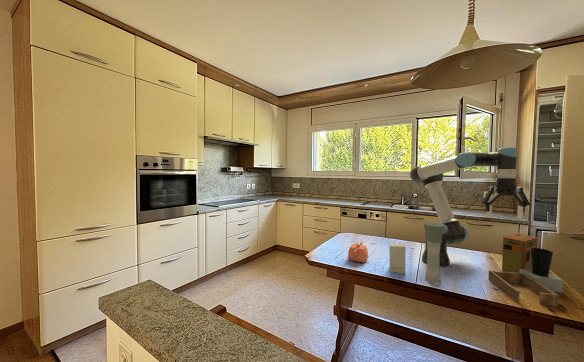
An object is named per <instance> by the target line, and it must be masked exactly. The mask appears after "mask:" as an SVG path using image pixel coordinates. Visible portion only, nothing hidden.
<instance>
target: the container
mask: <svg viewBox="0 0 584 362" xmlns="http://www.w3.org/2000/svg"><path fill="white" fill-rule="evenodd" d="M423 226H424V227H423V228H424V233H425V236H426V241H427V251H428V253H427V263H426V269H425V278H424V280H425V281H426V282H427V281H428V282H427V283H430V282H431V283H430V284H433V283H439V284H441V283H442V282H441V276H440V275H441V274H440V273H441V272H440V269H441V268H440V266H439V253H440V245H441V242H442V235H443V232H444V228H445V225H444V224H441V223H440V222H435V221H426V222H425V221H424V222H423Z"/></svg>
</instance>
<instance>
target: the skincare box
mask: <svg viewBox="0 0 584 362" xmlns="http://www.w3.org/2000/svg"><path fill="white" fill-rule="evenodd" d="M388 249H389V273H393V272H396V273H395V274H402V273H404V275H405V274H406V250H407V249H406V244H405V243H400V242H397V243H396V242H389V248H388Z"/></svg>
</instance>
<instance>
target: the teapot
mask: <svg viewBox="0 0 584 362" xmlns="http://www.w3.org/2000/svg"><path fill="white" fill-rule="evenodd" d="M347 258H348V260H349V261H352V262H355V261H356V263H360V262H362V264H363V263H366V262H367V260H368V258H369V252H368V247H367V246H366V245H363V241H360V243H353V244H351V245H350V246H349V248H348V251H347Z"/></svg>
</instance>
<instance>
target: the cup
mask: <svg viewBox="0 0 584 362" xmlns="http://www.w3.org/2000/svg"><path fill="white" fill-rule="evenodd" d="M553 254H554V252H553V251H551V250H549V249H546V248H545V249H544V248H538V247H537V248H531V261H532V273H533V274H536V275H539V276H544V277H548V275H549V273H550V269H551V265H552V264H551V263H552V259H553Z"/></svg>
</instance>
